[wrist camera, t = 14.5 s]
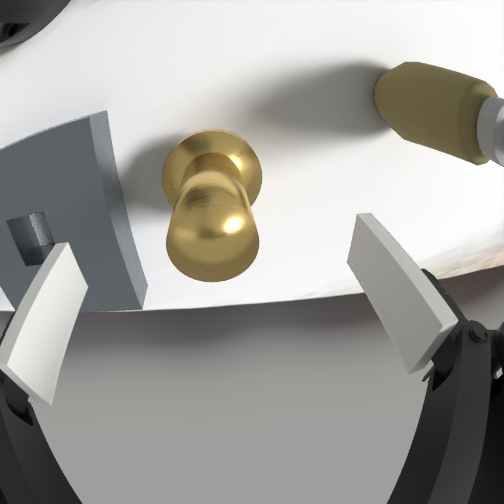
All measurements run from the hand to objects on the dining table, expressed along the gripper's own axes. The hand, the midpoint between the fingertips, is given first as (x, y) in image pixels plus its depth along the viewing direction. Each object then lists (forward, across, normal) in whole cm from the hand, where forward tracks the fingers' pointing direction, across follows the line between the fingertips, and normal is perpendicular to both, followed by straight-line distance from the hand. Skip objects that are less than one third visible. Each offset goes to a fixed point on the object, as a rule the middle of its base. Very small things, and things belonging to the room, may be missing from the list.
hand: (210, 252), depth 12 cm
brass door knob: (+15, 0, -1) cm, 15 cm away
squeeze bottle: (+15, +18, +6) cm, 25 cm away
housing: (+15, -19, -4) cm, 24 cm away
